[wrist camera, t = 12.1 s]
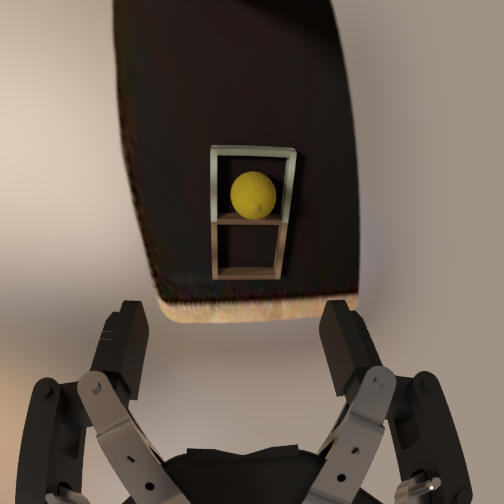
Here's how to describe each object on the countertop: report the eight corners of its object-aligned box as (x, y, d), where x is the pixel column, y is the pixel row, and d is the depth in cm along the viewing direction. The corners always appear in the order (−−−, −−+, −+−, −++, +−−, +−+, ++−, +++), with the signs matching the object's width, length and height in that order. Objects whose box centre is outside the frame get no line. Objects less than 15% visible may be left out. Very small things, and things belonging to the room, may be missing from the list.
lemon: (279, 180, 38) (291, 205, 32) (253, 208, 40) (258, 239, 34) (248, 155, 36) (253, 176, 29) (222, 186, 38) (220, 213, 32)
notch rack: (211, 145, 35) (210, 149, 33) (293, 148, 36) (296, 152, 34) (213, 271, 46) (212, 279, 45) (278, 271, 47) (279, 279, 46)
